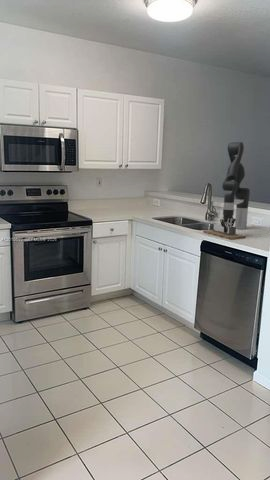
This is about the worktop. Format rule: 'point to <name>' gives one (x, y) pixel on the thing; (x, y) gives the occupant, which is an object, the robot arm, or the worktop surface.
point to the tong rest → (224, 234)
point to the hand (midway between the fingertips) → (227, 232)
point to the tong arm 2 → (231, 226)
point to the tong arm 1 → (219, 228)
